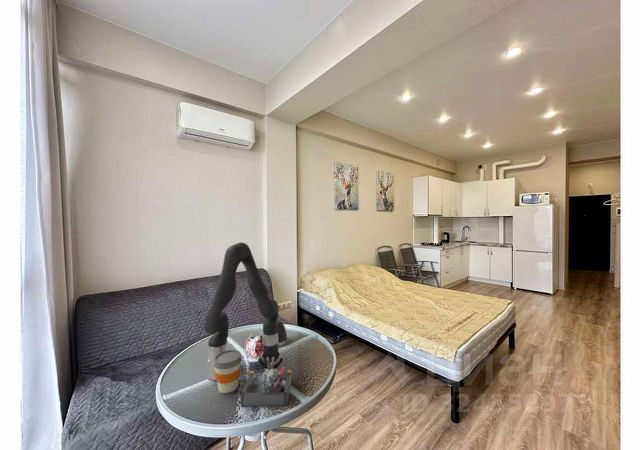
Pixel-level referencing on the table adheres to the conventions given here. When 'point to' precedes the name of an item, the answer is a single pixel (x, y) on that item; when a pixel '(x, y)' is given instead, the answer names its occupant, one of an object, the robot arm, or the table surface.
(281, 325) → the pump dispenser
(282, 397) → the cradle
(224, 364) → the reusable coffee cup
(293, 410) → the table surface
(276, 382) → the brake caliper
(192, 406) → the table surface
